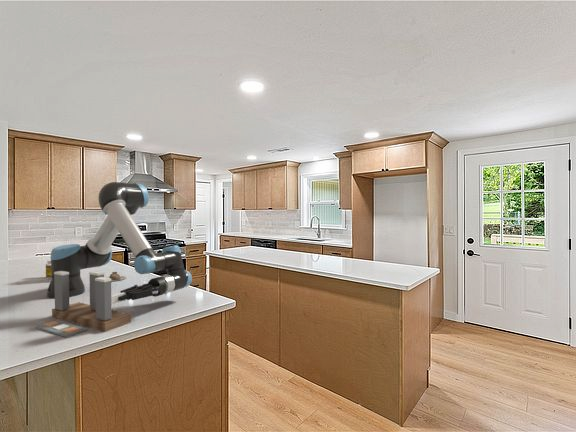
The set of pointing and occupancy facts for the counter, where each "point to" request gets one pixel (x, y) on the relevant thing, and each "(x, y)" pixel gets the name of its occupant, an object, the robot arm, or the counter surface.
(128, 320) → the brown wooden board
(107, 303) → the key outer
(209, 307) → the counter surface
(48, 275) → the supplement bottle
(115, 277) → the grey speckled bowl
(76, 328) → the pattern card
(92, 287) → the key middle
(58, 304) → the key inner
